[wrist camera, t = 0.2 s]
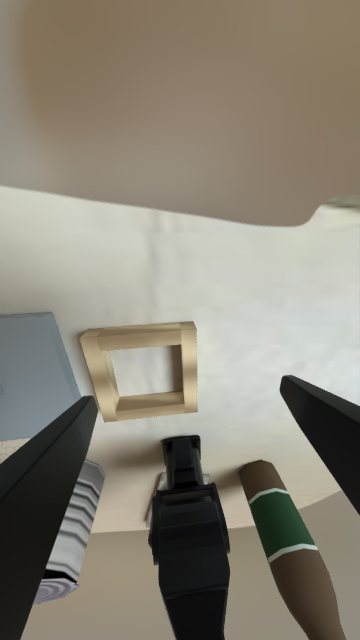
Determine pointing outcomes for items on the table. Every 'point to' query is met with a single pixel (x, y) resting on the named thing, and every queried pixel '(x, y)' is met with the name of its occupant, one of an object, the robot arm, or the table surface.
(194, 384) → the oak loop
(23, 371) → the hook board
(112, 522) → the table surface
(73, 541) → the can
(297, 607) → the beer bottle
